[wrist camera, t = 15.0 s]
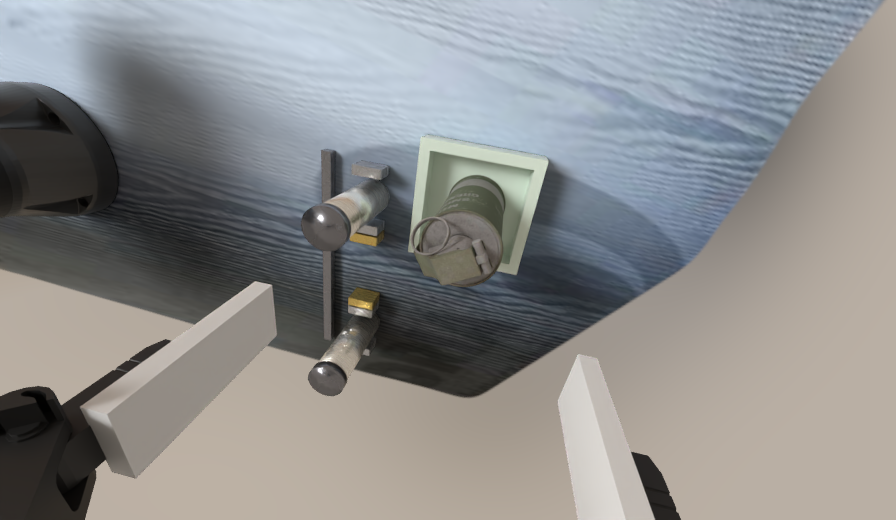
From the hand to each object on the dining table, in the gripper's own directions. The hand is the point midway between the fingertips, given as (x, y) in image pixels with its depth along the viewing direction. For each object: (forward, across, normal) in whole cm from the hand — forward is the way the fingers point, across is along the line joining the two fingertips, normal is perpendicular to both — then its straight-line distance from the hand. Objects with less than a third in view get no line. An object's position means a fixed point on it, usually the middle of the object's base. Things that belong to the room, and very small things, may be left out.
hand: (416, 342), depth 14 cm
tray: (+23, +1, 0) cm, 23 cm away
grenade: (+23, +1, 0) cm, 23 cm away
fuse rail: (+23, -12, -10) cm, 28 cm away
